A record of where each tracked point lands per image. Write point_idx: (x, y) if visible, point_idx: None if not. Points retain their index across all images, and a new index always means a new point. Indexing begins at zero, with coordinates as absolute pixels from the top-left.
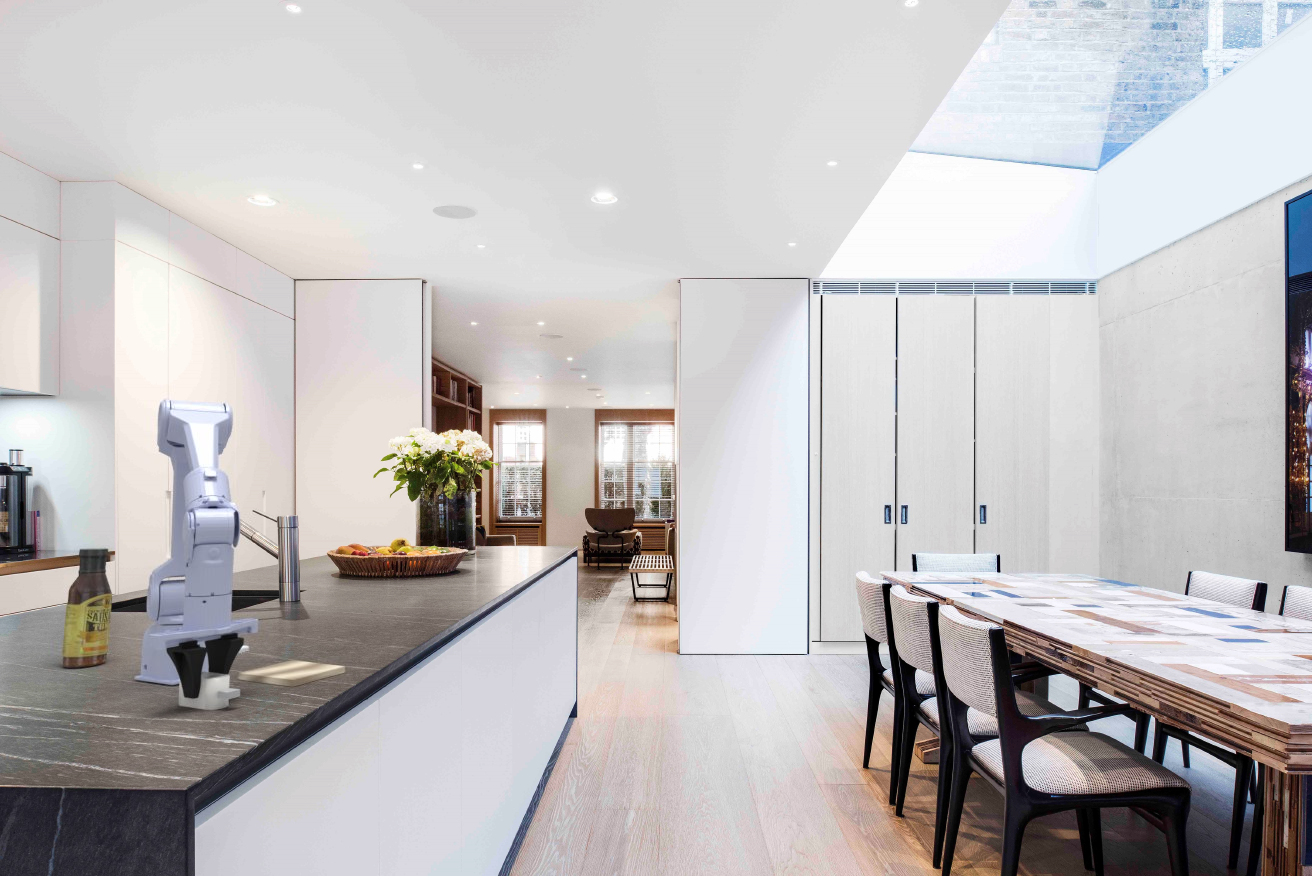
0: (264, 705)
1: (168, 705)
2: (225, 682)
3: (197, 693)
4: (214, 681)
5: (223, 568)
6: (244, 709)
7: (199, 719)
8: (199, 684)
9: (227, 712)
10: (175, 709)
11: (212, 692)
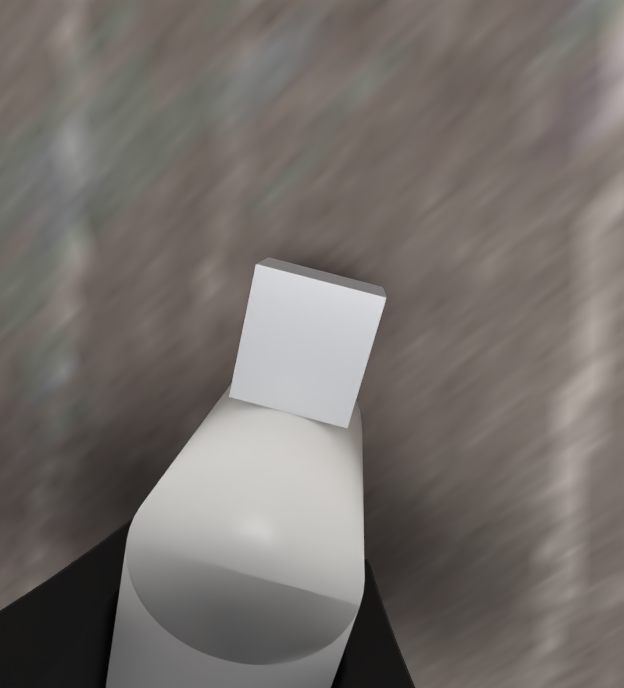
0: (180, 109)
1: None
2: (266, 438)
3: None
4: (349, 514)
5: None
6: (304, 188)
7: (575, 328)
8: (355, 622)
9: (393, 258)
10: None
11: (358, 463)
